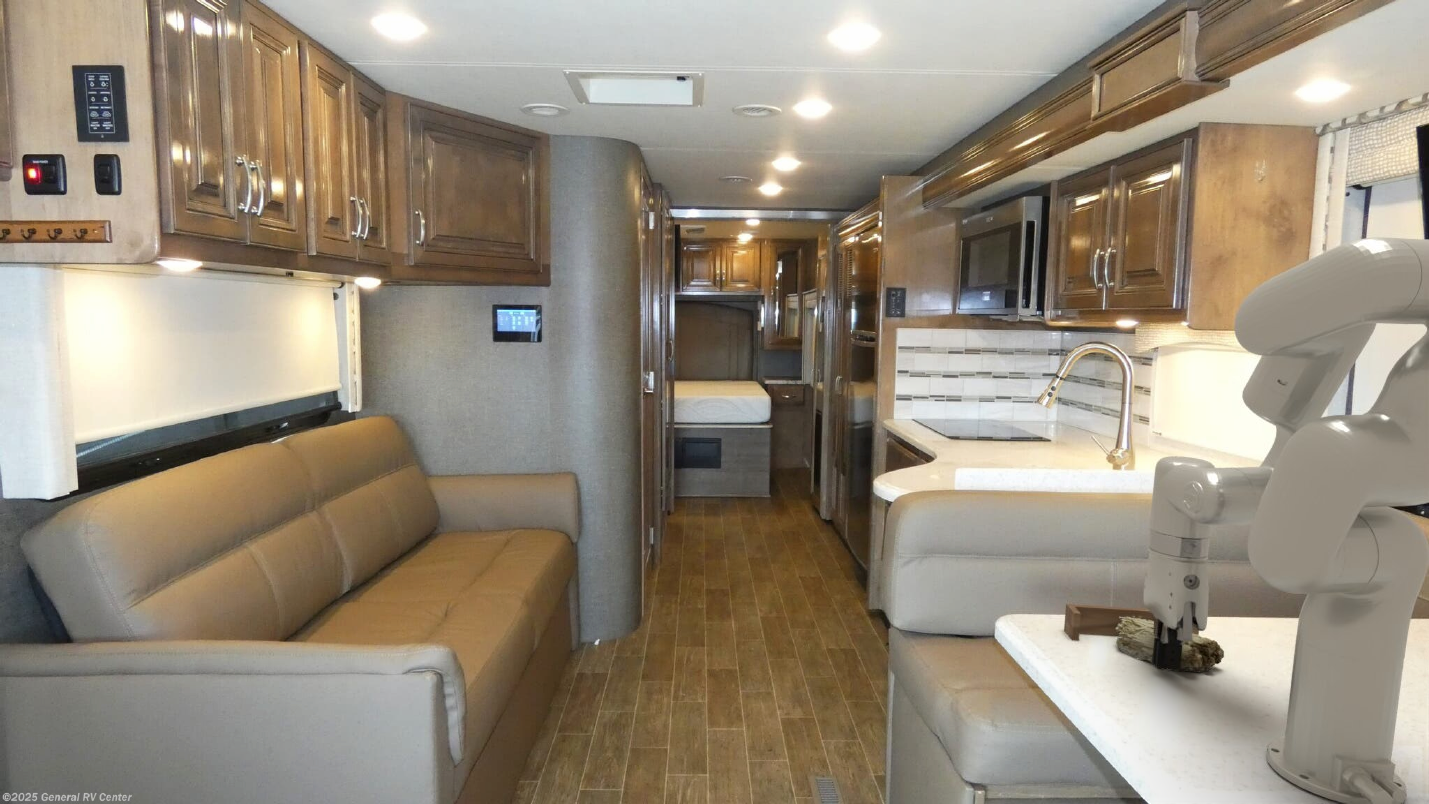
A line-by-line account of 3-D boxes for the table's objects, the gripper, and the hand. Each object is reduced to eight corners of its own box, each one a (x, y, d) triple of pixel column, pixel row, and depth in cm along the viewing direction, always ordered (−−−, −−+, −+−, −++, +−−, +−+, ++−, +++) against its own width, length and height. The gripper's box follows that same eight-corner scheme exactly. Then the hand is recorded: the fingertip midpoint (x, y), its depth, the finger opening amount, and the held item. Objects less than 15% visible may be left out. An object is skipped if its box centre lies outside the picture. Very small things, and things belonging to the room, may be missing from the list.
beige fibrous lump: (1228, 669, 121) (1232, 634, 120) (1196, 684, 115) (1200, 648, 115) (1133, 636, 132) (1136, 604, 132) (1100, 648, 127) (1103, 615, 126)
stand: (1197, 648, 127) (1199, 620, 127) (1072, 640, 129) (1074, 612, 129) (1185, 638, 131) (1187, 611, 131) (1064, 630, 133) (1066, 604, 133)
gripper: (1234, 562, 107) (1219, 693, 110) (1181, 531, 122) (1169, 647, 124) (1174, 558, 108) (1161, 689, 110) (1129, 528, 123) (1118, 644, 125)
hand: (1165, 666), depth 117 cm, fingers closed
